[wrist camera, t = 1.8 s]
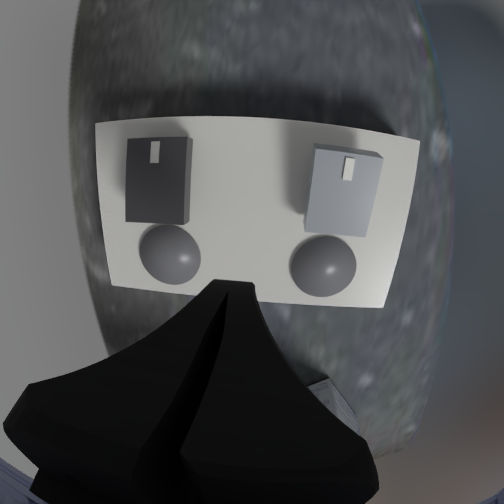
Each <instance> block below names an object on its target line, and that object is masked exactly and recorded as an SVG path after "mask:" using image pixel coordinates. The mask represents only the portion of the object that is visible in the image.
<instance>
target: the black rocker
mask: <svg viewBox="0 0 504 504" xmlns="http://www.w3.org/2000/svg"><path fill="white" fill-rule="evenodd" d="M192 150H193V139H192V138H190V137H150V138H130V139H127V156H126V183H125V222H137V223H156V224H173V225H185V224H186V223H188V222H189V219H190V189H191V167H192Z"/></svg>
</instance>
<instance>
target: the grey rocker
mask: <svg viewBox="0 0 504 504" xmlns="http://www.w3.org/2000/svg"><path fill="white" fill-rule="evenodd" d="M383 159H384V158H383V157H382V156H381V155H380V154H379V153H378V152H375V151H369V150H363V149H356V148H349V147H342V146H335V145H327V144H319V143H313V149H312V157H311V166H310V174H309V182H308V190H307V197H306V205H305V212H304V219H303V224H304V231H305V232H311V233H322V234H333V235H344V236H355V237H366V233H367V229H368V225H369V221H370V217H371V213H372V209H373V205H374V201H375V197H376V192H377V188H378V183H379V179H380V174H381V169H382V164H383Z"/></svg>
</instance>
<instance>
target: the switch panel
mask: <svg viewBox="0 0 504 504" xmlns="http://www.w3.org/2000/svg"><path fill="white" fill-rule="evenodd" d="M95 134H96V163H97V179H98V191H99V202H100V211H101V220H102V228H103V235H104V242H105V249H106V255H107V261H108V267H109V272H110V278H111V283H112V285H114V286H122V287H129V288H137V289H144V290H152V291H161V292H169V293H178V294H187V295H196V296H197V295H198V294H199V293H200V292H201V291H202V290H203V289H204V288H205V287H206V286H207V285H208V284H209V283H210V282H211V281H212V280H213V279H222V280H233V281H245V282H253V284H254V285H255V292H256V297H257V300H258V301H262V302H275V303H290V304H305V305H323V306H343V307H369V308H383V306H384V303H385V300H386V297H387V294H388V290H389V287H390V284H391V280H392V277H393V273H394V270H395V266H396V263H397V259H398V255H399V251H400V247H401V243H402V239H403V235H404V230H405V226H406V222H407V217H408V212H409V207H410V202H411V197H412V192H413V186H414V180H415V174H416V167H417V161H418V153H419V146H420V141H417V140H413V139H409V138H404V137H400V136H395V135H390V134H385V133H380V132H375V131H370V130H364V129H358V128H352V127H345V126H339V125H331V124H324V123H316V122H307V121H297V120H286V119H273V118H258V117H234V116H180V117H156V118H141V119H129V120H118V121H109V122H100V123H95ZM150 137H190V138H192V139H193V150H192V167H191V189H190V219H189V222H188V223H186V224H185V225H173V224H156V223H137V222H125V183H126V156H127V139H130V138H150ZM313 143H319V144H327V145H335V146H342V147H349V148H356V149H363V150H369V151H375V152H378V153H379V154H380V155H381V156H382V157H383V158H384V159H383V164H382V169H381V174H380V179H379V183H378V188H377V192H376V197H375V201H374V205H373V209H372V213H371V217H370V221H369V225H368V229H367V233H366V237H355V236H344V235H333V234H322V233H311V232H305V231H304V224H303V219H304V212H305V205H306V197H307V190H308V182H309V174H310V166H311V157H312V149H313Z"/></svg>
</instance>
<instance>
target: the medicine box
mask: <svg viewBox="0 0 504 504" xmlns="http://www.w3.org/2000/svg"><path fill="white" fill-rule="evenodd" d="M308 388H309V389H310V390H311V391H312V393H313V394H314V395H315V396H316V397H317V398H318V399H319V400H320V401H321V402H322V403H323V404H324V405H325V406H326V407H327V408H328V409H329V410H330V411H331V412H332V413H333V414H334V415H335V416H336V417H337V418H338V419H340V420H341V421H342V422H343V423H344V424H345V425H347V426H348V427H349V428H350V429H352V430H353V431H354V432H356V433H357V434H358V435H359V436H361V435H360V430H359V425H358V420H357V416H356V415H355V413H354V412H353V411H352V409H351V408H350V406H349V405H348V404H347V402H346V401H345V400H344V398H343V397H342V395H341V394H340V393H339V391H338V390H337V389H336V387H335V386H334V384H333V383H332V382H331V380H330V379H329V378H328V379H326V380H323V381H320V382H318V383H315V384H313V385H310V386H308Z"/></svg>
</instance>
